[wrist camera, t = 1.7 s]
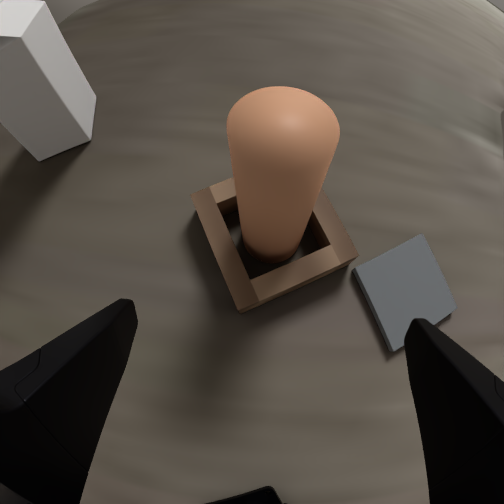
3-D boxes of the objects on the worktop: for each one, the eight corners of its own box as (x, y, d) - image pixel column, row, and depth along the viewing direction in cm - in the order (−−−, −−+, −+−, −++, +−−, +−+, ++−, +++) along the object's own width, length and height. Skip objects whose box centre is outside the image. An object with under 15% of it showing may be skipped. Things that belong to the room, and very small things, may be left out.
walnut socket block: (240, 313, 22) (237, 310, 19) (196, 208, 24) (190, 194, 22) (349, 264, 23) (359, 255, 20) (297, 169, 25) (300, 152, 23)
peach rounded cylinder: (256, 272, 23) (254, 187, 10) (233, 221, 24) (210, 104, 11) (309, 249, 23) (360, 149, 11) (284, 201, 24) (305, 77, 12)
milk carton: (97, 97, 29) (31, -29, 11) (91, 141, 27) (0, 1, 9) (48, 118, 29) (-27, 11, 10) (39, 163, 27) (-61, 52, 8)
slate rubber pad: (389, 351, 21) (393, 351, 20) (352, 270, 23) (355, 267, 22) (452, 309, 21) (457, 307, 21) (417, 236, 23) (422, 233, 23)
